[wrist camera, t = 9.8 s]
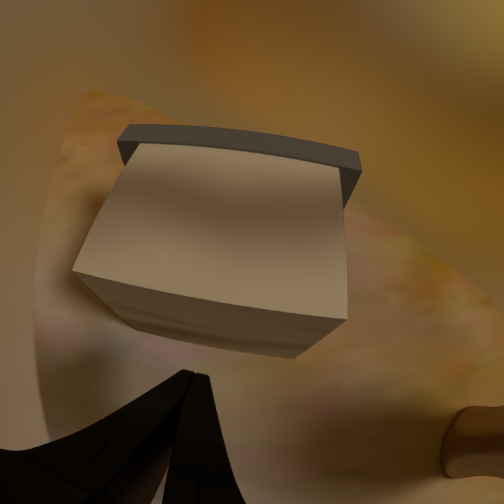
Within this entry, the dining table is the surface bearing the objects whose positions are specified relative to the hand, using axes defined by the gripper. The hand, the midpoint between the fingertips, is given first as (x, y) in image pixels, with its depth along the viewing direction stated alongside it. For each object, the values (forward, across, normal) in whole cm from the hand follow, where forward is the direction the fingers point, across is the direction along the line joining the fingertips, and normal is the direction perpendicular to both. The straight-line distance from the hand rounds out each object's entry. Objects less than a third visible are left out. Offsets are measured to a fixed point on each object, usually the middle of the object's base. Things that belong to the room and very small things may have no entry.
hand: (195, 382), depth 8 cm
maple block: (+9, +1, +1) cm, 9 cm away
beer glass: (+2, -19, +8) cm, 21 cm away
